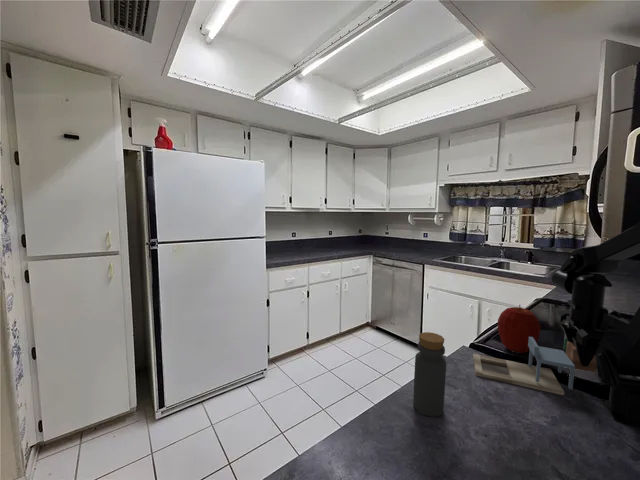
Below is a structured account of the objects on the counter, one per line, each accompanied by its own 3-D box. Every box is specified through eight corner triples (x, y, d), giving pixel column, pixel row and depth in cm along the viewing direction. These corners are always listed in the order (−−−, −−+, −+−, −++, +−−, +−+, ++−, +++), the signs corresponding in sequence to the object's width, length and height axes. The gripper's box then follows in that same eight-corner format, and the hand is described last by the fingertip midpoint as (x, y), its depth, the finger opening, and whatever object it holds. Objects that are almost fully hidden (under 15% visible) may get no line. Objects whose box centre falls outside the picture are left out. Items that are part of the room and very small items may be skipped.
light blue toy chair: (572, 389, 62) (576, 355, 61) (532, 381, 65) (535, 348, 64) (560, 371, 69) (563, 340, 68) (525, 364, 72) (528, 335, 71)
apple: (536, 364, 74) (541, 313, 73) (492, 351, 81) (496, 304, 80) (539, 350, 82) (544, 304, 81) (499, 339, 89) (503, 296, 87)
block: (595, 373, 67) (597, 353, 67) (571, 368, 69) (573, 348, 69) (587, 363, 71) (589, 345, 71) (565, 359, 73) (567, 341, 73)
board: (563, 396, 62) (564, 391, 61) (475, 375, 69) (475, 372, 69) (550, 372, 70) (550, 368, 70) (473, 357, 78) (473, 353, 78)
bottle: (407, 401, 59) (410, 333, 58) (429, 395, 61) (432, 329, 60) (426, 420, 54) (430, 345, 52) (450, 413, 56) (454, 341, 54)
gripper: (658, 319, 57) (648, 391, 58) (612, 294, 73) (605, 351, 75) (586, 310, 61) (579, 377, 63) (558, 289, 78) (553, 343, 80)
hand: (580, 361), depth 70 cm, fingers closed on block, 4 cm apart
